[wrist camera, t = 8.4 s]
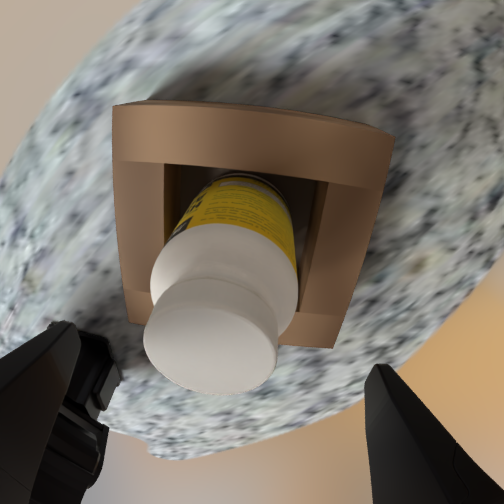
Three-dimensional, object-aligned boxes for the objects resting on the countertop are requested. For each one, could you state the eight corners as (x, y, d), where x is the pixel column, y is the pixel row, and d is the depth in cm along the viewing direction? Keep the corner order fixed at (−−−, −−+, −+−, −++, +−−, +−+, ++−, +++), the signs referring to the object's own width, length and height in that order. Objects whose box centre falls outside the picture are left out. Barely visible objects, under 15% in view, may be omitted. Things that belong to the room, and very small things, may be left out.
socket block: (149, 284, 21) (128, 322, 18) (145, 100, 15) (112, 105, 12) (324, 305, 21) (332, 348, 18) (368, 124, 15) (395, 136, 12)
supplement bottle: (203, 158, 16) (124, 253, 7) (304, 188, 16) (339, 313, 8) (182, 247, 18) (120, 381, 10) (272, 272, 19) (269, 420, 10)
